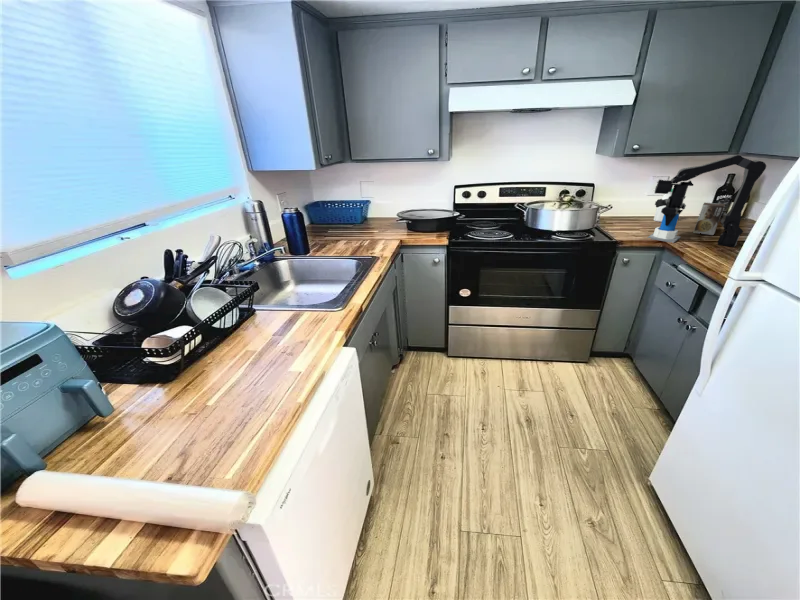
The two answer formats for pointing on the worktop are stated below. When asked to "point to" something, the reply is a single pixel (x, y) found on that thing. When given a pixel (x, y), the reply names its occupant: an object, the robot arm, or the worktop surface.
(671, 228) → the beverage can
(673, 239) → the socket
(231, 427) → the worktop surface
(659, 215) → the milk bottle
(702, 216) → the coffee box
